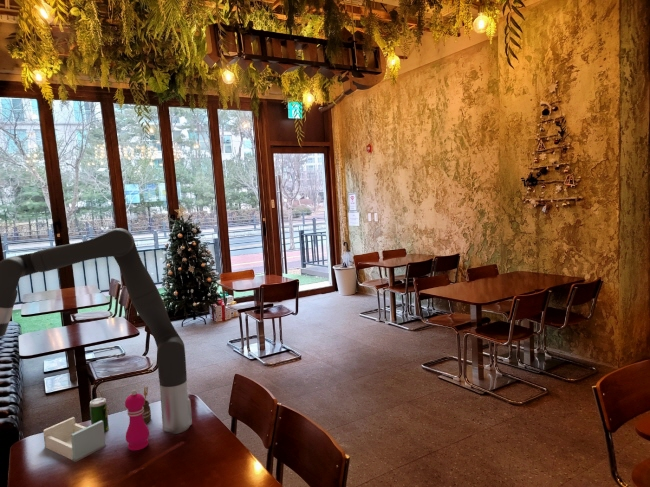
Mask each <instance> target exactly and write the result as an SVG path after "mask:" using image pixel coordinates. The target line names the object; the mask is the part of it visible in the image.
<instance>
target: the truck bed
mask: <svg viewBox="0 0 650 487" xmlns="http://www.w3.org/2000/svg"><path fill="white" fill-rule="evenodd" d="M86 427H87V426H83V425H82V424H79V423H77V422H76V418H75V417H74V416H72V417H70V418H68V419H65V420H63V421H61V422H59V423H57V424H54V425H51V426H50V427H46V428H45V429H43V439H44V440H43V441H44V442H43V443H44V447H45V449H48V450H50V451H52V452H54V453H56V454H59V455H60V456H62V457H65V458H67V459H68V460H71V461H72V460H73V451H72V440H71V434H73V433H75V432H77V431H79V430H82V429H84V428H86Z"/></svg>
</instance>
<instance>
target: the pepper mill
mask: <svg viewBox="0 0 650 487" xmlns="http://www.w3.org/2000/svg"><path fill="white" fill-rule="evenodd" d="M144 403H145V396H144V394H141V393H138V391H137V390H136V389H132V390H131V392H130V394H129V396H127V397H126V398H125V401H124V406H125V408H126V409H127V410H126V412H127V416H128V418H129V423H128V427H127V430H126V431H125V432H126V433H125V441H126V442H127V443H128V445H127V448H128V450H129V451H139V450H142V449H145V448H146V447H147V446H148V445H149V440H148V438H149V436H150V430H149V428H148V426H147V423H145V422H144V420H143V412H144V407H143V405H144Z"/></svg>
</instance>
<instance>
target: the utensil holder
mask: <svg viewBox="0 0 650 487" xmlns="http://www.w3.org/2000/svg"><path fill="white" fill-rule="evenodd" d="M143 390H144V391H143V397H144V399H145V403H144V405H143V407H144V412H143V420H144V422H145V424H147V423H149V422H150V421H151V420H152V411H151V406H150V403H149V402H150V401H149V400H147V399H146V398H147V396H148V391H149V386H144V388H143Z"/></svg>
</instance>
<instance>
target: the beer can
mask: <svg viewBox="0 0 650 487" xmlns="http://www.w3.org/2000/svg"><path fill="white" fill-rule="evenodd" d="M107 403H108V402H107V399H106V398H104V397H98V398H94V399H92V400H90V402H89V416H90V425H92V424H94V423H97V422H99V421H103V424H104V433H107V432H108V431H109V430H110V429H109V428H110V427H109V416H108V404H107Z"/></svg>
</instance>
